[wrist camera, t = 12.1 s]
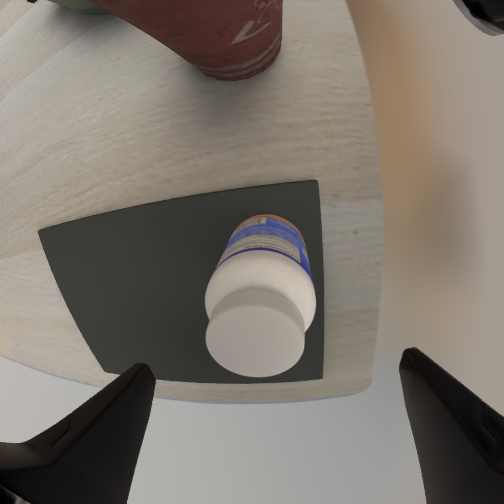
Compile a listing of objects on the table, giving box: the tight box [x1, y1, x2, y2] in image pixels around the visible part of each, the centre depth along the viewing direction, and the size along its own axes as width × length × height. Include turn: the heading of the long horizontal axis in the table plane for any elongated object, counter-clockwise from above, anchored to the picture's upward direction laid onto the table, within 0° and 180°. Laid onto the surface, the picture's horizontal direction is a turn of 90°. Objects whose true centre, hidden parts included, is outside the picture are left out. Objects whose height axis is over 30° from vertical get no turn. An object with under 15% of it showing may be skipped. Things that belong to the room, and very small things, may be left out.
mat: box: [38, 180, 324, 384], centre depth 23 cm, size 26×19×1 cm
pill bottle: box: [205, 214, 316, 377], centre depth 15 cm, size 5×5×10 cm
